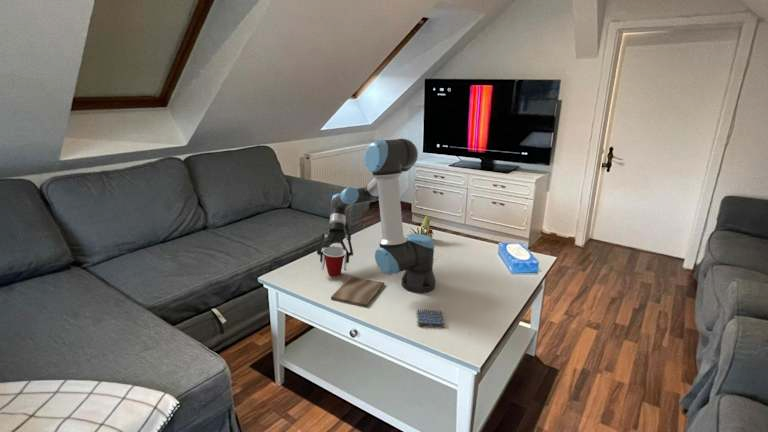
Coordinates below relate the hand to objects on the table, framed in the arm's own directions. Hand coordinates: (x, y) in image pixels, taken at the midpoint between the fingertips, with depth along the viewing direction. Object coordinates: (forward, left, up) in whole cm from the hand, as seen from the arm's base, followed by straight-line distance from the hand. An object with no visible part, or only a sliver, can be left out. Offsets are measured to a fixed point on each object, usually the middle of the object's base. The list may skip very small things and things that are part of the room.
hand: (333, 269), depth 188 cm
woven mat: (-50, +17, -5) cm, 53 cm away
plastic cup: (+1, -3, -4) cm, 5 cm away
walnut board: (-16, +8, -4) cm, 18 cm away
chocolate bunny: (-28, -58, -4) cm, 65 cm away
